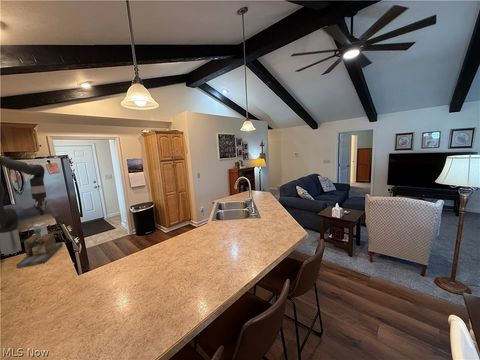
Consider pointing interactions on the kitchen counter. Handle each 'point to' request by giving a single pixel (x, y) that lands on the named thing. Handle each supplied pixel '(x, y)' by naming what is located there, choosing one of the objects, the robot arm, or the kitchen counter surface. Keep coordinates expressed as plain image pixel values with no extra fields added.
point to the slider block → (40, 247)
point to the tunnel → (39, 258)
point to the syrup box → (43, 229)
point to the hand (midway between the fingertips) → (42, 214)
